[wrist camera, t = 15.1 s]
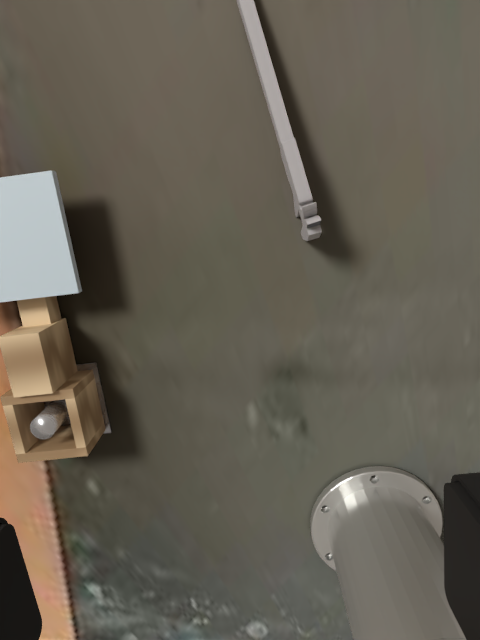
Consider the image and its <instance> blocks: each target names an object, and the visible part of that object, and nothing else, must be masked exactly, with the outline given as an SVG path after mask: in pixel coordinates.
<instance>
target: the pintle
mask: <svg viewBox="0 0 480 640" xmlns="http://www.w3.org/2000/svg"><path fill="white" fill-rule="evenodd" d="M76 366H77V370H78V371H84V370H93V373H94V377H95V382H96V387H97V391H98V396H99V401H100V405H101V410H102V415H103V419H104V424H105V428H106V430H105V431H104V433H111V432H112V430H111V426H110V421H109V417H108V412H107V408H106V403H105V399H104V394H103V389H102V385H101V380H100V376H99V371H98V367H97V362H94V363H85V364H76ZM44 405H45V409H44V410H43V411H42V412H41V413H40V414H39V415H38V416H37V417H36V418H35V419H33V420H32V422H31V424H30V430H31V433H32V434H33V435H34V436H35V437H37V438H39V439H48V438H50V437H52V435H53V434H54V433H55V432H56V431H57V430H58V429H59V427H60V426H69V425H71V422H70V418H69V414H68V410H67V405H66V401H65V399H63V400H54V401H45V402H44Z"/></svg>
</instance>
